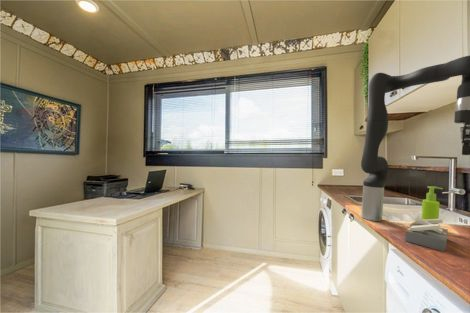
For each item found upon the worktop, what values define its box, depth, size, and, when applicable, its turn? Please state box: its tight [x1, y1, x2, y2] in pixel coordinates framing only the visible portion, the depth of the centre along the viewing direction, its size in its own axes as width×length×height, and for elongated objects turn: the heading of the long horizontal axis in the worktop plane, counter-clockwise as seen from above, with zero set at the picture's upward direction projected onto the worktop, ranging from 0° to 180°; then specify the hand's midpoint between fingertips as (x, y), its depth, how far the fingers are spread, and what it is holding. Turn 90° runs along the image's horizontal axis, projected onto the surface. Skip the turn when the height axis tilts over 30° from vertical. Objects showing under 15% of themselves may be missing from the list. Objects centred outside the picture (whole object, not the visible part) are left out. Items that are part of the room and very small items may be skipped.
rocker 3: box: [411, 223, 441, 231], centre depth 80 cm, size 3×8×1 cm, turn 42°
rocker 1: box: [414, 217, 444, 224], centre depth 88 cm, size 3×8×1 cm, turn 42°
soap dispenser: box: [420, 185, 444, 224], centre depth 98 cm, size 6×7×20 cm
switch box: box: [404, 221, 449, 252], centre depth 84 cm, size 18×11×5 cm, turn 132°
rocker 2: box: [414, 215, 444, 234], centre depth 83 cm, size 3×8×1 cm, turn 42°
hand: (466, 155), depth 80 cm, fingers closed
